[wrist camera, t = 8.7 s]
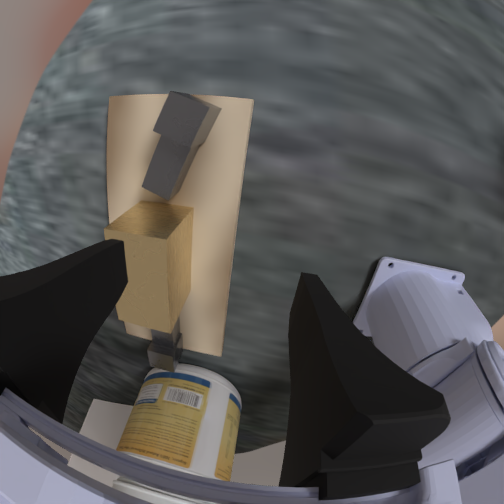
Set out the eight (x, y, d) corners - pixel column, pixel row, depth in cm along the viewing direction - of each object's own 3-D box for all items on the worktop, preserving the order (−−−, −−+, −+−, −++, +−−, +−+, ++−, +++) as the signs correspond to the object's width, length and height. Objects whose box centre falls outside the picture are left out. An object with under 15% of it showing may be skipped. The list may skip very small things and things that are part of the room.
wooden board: (254, 100, 15) (252, 99, 15) (222, 349, 26) (221, 356, 25) (116, 96, 16) (109, 96, 15) (130, 327, 26) (126, 333, 25)
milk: (143, 407, 36) (95, 543, 13) (175, 438, 41) (143, 553, 18) (93, 398, 38) (44, 509, 15) (126, 429, 43) (91, 528, 20)
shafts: (223, 95, 15) (211, 92, 12) (203, 354, 25) (195, 378, 23) (156, 93, 15) (134, 91, 12) (160, 344, 25) (150, 366, 23)
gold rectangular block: (193, 207, 18) (166, 239, 14) (190, 290, 22) (170, 333, 17) (141, 200, 18) (104, 228, 14) (145, 280, 22) (118, 319, 17)
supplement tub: (136, 381, 32) (91, 485, 17) (173, 342, 27) (115, 491, 12) (210, 419, 34) (187, 520, 20) (264, 392, 29) (249, 527, 14)
